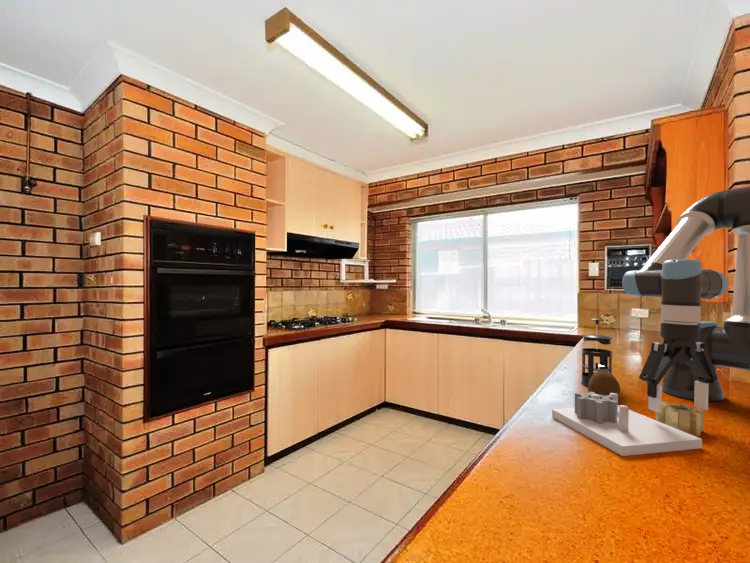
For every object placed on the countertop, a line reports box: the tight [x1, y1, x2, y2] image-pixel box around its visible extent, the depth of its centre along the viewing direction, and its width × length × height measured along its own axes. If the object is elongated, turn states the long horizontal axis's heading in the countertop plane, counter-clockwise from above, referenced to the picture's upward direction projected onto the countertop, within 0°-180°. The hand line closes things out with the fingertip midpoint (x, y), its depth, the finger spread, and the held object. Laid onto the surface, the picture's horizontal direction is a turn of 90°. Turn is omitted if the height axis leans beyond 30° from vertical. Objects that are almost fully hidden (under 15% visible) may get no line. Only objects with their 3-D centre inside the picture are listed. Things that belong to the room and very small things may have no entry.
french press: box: [580, 317, 613, 388], centre depth 128 cm, size 12×9×23 cm
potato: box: [587, 371, 622, 397], centre depth 112 cm, size 8×12×9 cm
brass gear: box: [655, 400, 705, 437], centre depth 91 cm, size 9×9×5 cm
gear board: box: [551, 391, 703, 457], centre depth 89 cm, size 20×22×8 cm
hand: (678, 409), depth 91 cm, fingers open, 13 cm apart
